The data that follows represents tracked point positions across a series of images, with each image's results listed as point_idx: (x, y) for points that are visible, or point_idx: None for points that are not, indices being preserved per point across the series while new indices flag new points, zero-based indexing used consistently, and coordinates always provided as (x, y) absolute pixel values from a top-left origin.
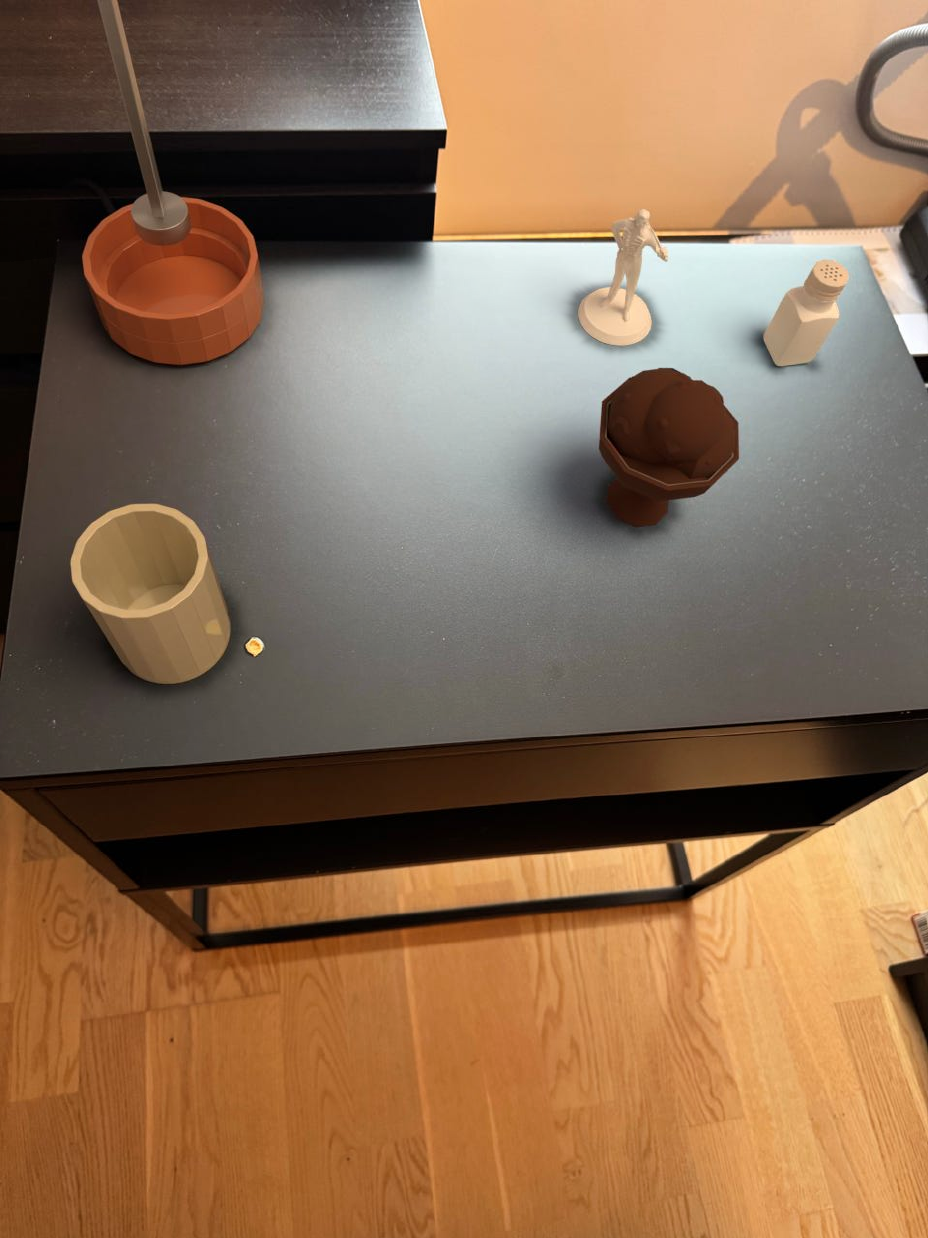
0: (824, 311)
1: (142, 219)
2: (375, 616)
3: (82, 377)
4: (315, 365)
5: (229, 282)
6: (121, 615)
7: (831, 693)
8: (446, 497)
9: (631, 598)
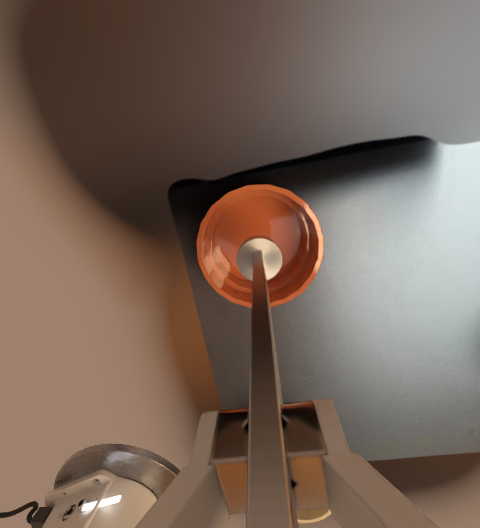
0: None
1: (248, 272)
2: (384, 413)
3: (212, 300)
4: (349, 273)
5: (286, 216)
6: (300, 522)
7: None
8: (427, 353)
9: None
